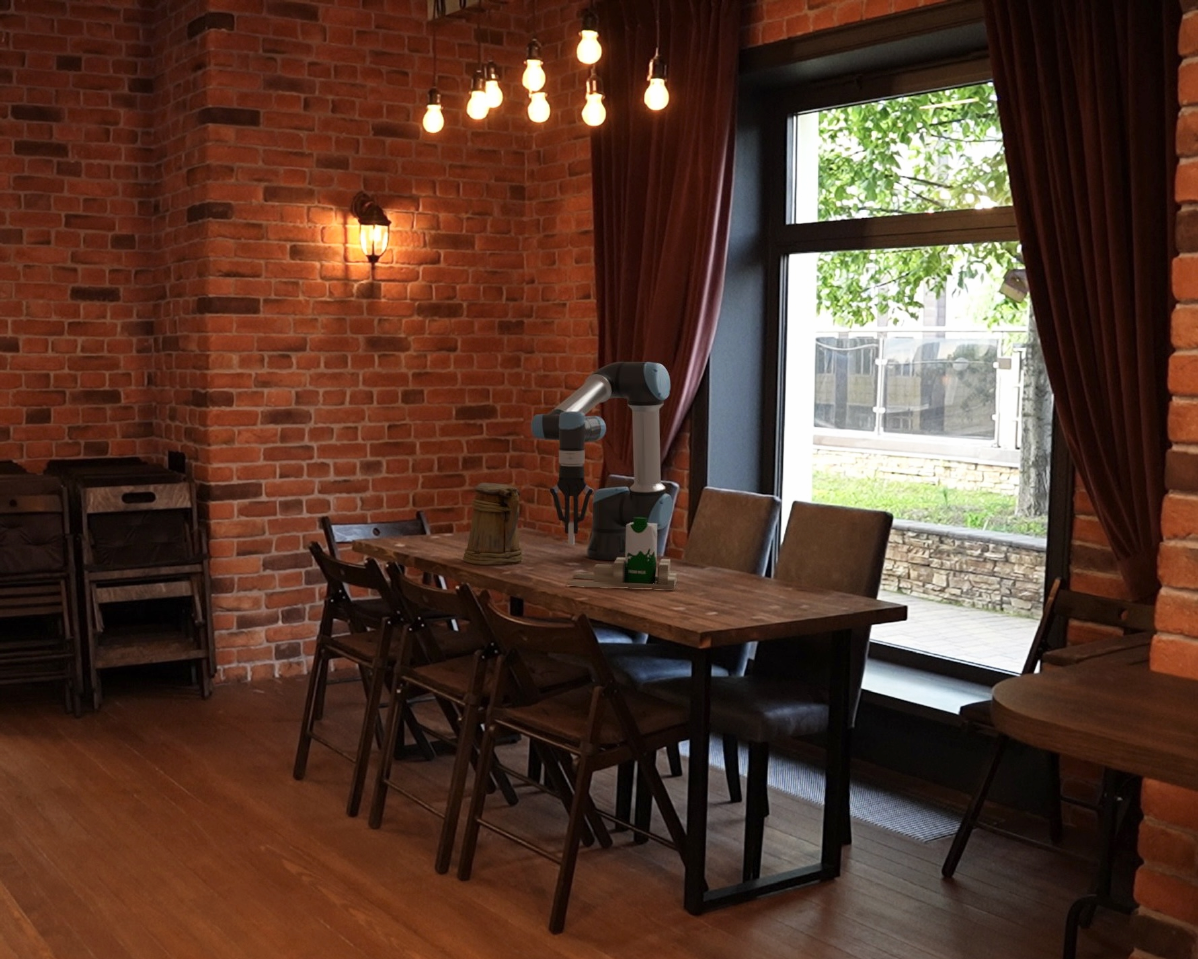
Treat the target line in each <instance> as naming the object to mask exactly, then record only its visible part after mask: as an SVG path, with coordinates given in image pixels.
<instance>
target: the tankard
mask: <svg viewBox="0 0 1198 959" xmlns="http://www.w3.org/2000/svg"><path fill="white" fill-rule="evenodd" d="M474 489H475V490H476V493H475V497H474V498H473V499H472V500H473V501H472V505H471V506H472V509H473V511H472V518H471V523H470V528H469V529H470V530H469V534H468V541H467V547H466V549H465V550H464V553H463V557H462V560H463V561H464V562H467V563H469V564H474V565H478V566H479V565H481V566H490V565H504V566H510V565H509V564H513V565H515V564H514V563H517V564H520V563H521V562H522V561H523V553H522V549H521V547H520V538H519V528H518V523H519V522H518V521H519V518H520V507H521V506H520V497H519V496H521V494H522V493H521V490H518V488H517V487H514V486H511V485H508V484H503V483H494V482H491V483H490V482H481V483H479V484H477V485H476V486H475V488H474ZM519 562H520V563H519Z"/></svg>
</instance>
